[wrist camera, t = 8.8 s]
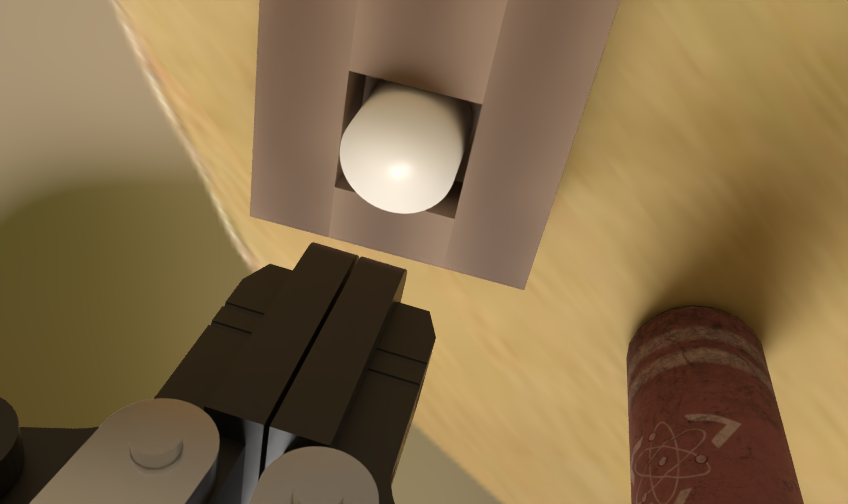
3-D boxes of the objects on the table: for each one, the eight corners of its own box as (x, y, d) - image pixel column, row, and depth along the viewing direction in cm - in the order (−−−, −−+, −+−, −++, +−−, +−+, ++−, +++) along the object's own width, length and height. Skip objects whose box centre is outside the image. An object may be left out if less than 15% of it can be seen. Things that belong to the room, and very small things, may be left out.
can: (616, 390, 38) (621, 664, 26) (638, 292, 34) (654, 559, 23) (740, 409, 37) (801, 701, 25) (776, 309, 33) (865, 598, 22)
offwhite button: (483, 81, 29) (467, 123, 26) (460, 177, 31) (443, 226, 28) (375, 54, 29) (346, 92, 26) (361, 151, 32) (333, 197, 28)
